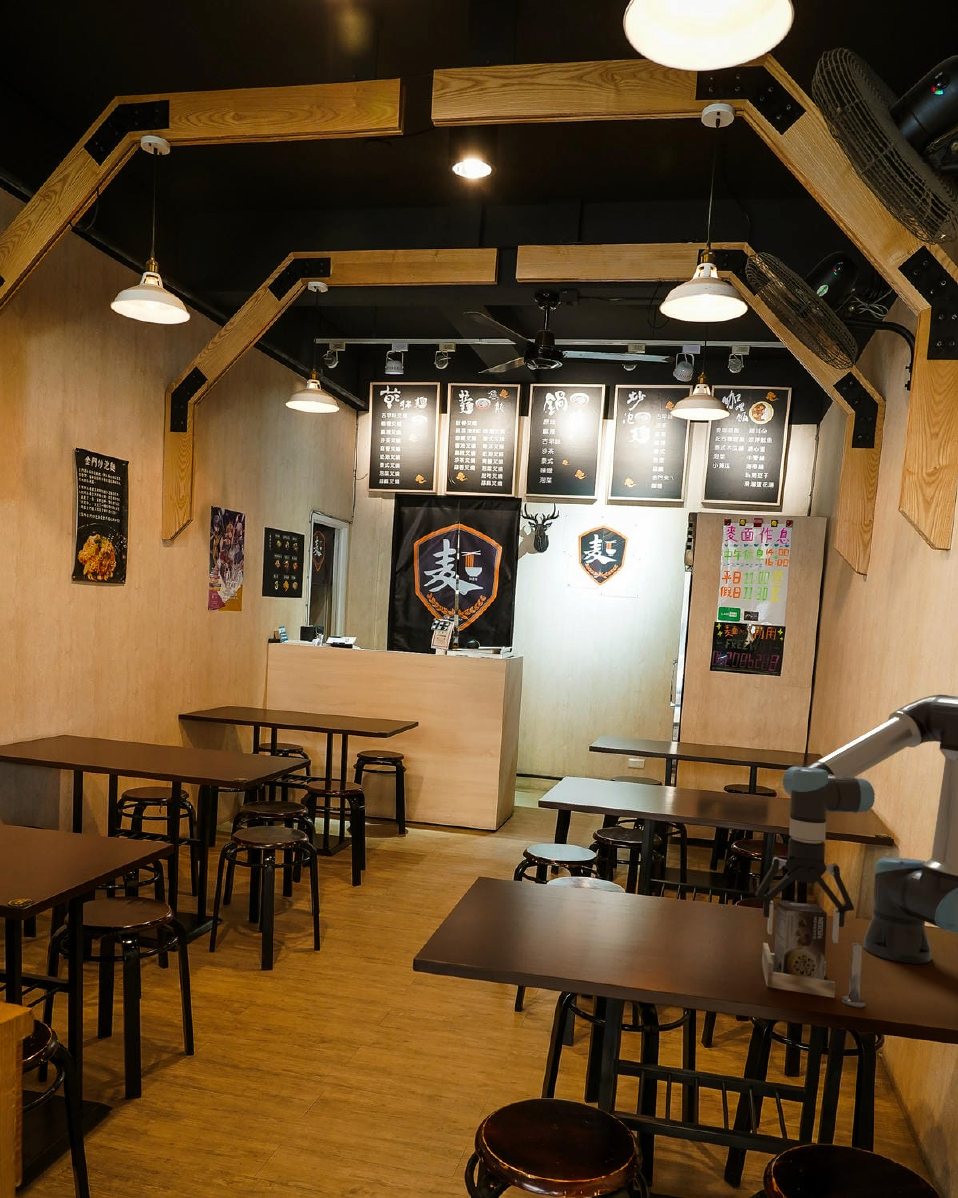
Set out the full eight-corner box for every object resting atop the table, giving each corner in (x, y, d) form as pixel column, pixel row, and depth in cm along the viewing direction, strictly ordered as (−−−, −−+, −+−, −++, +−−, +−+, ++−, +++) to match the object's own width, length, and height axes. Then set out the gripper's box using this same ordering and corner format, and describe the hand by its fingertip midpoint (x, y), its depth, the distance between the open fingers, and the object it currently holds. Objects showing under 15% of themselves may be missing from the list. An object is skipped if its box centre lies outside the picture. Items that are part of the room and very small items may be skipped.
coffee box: (812, 977, 198) (817, 903, 199) (824, 988, 192) (828, 912, 193) (771, 974, 198) (776, 900, 199) (781, 985, 192) (786, 909, 193)
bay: (824, 975, 200) (825, 952, 201) (834, 997, 187) (835, 973, 187) (761, 965, 204) (763, 942, 204) (767, 986, 190) (768, 963, 190)
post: (862, 1001, 186) (866, 943, 187) (867, 1009, 182) (870, 949, 182) (840, 997, 187) (844, 939, 188) (844, 1005, 183) (847, 946, 183)
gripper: (864, 842, 197) (859, 939, 196) (746, 829, 203) (741, 924, 202) (871, 849, 190) (866, 950, 189) (749, 836, 196) (744, 934, 195)
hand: (802, 937), depth 196 cm, fingers open, 13 cm apart
